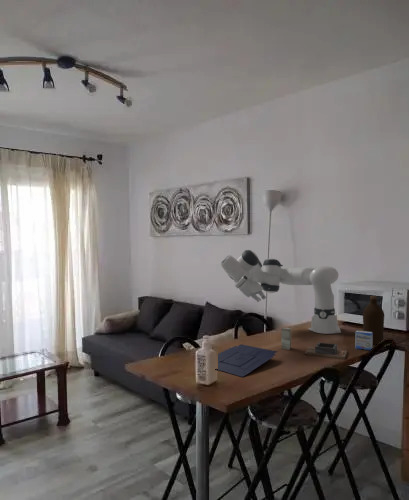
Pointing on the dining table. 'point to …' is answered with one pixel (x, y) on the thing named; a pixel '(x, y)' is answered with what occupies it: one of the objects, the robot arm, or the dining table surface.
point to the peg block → (286, 338)
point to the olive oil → (374, 320)
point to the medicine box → (363, 340)
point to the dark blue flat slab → (243, 359)
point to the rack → (326, 351)
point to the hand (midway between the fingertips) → (262, 299)
